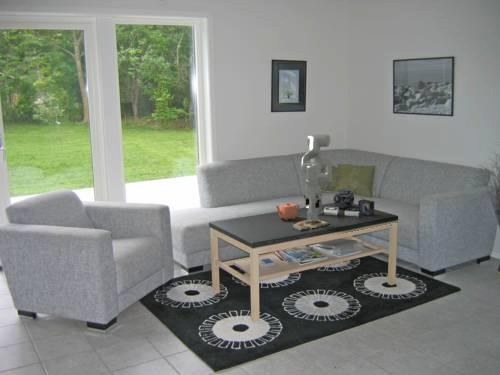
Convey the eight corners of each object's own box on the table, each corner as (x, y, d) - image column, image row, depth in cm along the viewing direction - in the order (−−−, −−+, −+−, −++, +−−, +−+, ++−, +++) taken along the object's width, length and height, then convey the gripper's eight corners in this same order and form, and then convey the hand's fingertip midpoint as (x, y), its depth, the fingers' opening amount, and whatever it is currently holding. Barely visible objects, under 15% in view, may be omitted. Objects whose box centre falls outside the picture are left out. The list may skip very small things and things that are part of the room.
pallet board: (295, 224, 375) (295, 221, 374) (312, 219, 385) (312, 216, 384) (311, 229, 362) (311, 226, 362) (329, 224, 372) (329, 221, 372)
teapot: (295, 215, 399) (295, 199, 396) (303, 219, 388) (303, 203, 385) (271, 218, 391) (271, 203, 389) (278, 222, 380) (278, 206, 378)
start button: (295, 227, 364) (295, 223, 363) (300, 226, 367) (300, 221, 366) (300, 228, 361) (300, 224, 360) (304, 227, 363) (304, 223, 363)
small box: (357, 214, 396) (357, 200, 394) (362, 212, 400) (362, 198, 398) (369, 216, 389) (369, 202, 386) (374, 214, 393) (374, 201, 391)
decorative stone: (348, 211, 403) (348, 192, 400) (329, 208, 413) (329, 190, 410) (357, 207, 416) (357, 188, 412) (339, 204, 425) (339, 186, 422)
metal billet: (307, 222, 373) (306, 211, 372) (313, 221, 377) (313, 210, 375) (311, 224, 370) (311, 213, 368) (317, 222, 373) (317, 211, 372)
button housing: (293, 228, 365) (293, 224, 364) (300, 226, 369) (300, 222, 368) (300, 231, 359) (300, 226, 359) (307, 229, 363) (307, 224, 363)
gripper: (299, 181, 371) (299, 204, 376) (317, 185, 358) (317, 210, 363) (307, 179, 376) (307, 202, 380) (324, 183, 363) (325, 207, 367)
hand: (312, 206), depth 371 cm, fingers open, 9 cm apart
